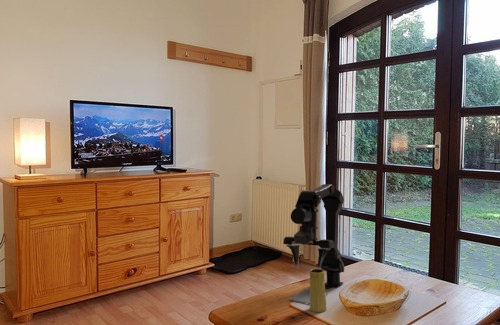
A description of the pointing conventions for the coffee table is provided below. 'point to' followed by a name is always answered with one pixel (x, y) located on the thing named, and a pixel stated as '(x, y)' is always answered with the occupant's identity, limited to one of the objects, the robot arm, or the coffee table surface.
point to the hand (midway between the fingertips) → (307, 265)
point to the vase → (317, 291)
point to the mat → (302, 297)
